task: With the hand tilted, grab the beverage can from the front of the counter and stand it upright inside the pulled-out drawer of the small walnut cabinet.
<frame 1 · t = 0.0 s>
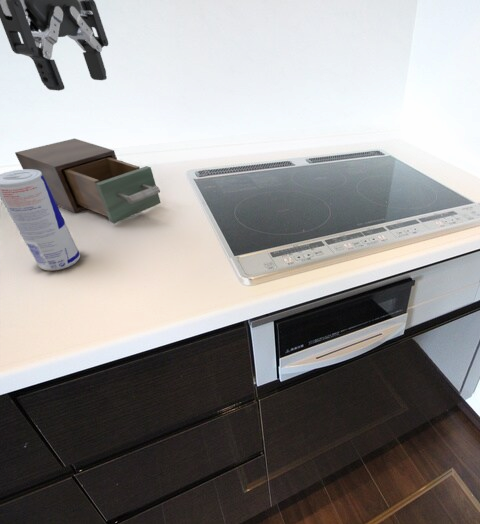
hand: (79, 84, 53), 25 cm above the worktop, tool pointing down, fingers open, 8 cm apart
beverage can: (61, 263, 59), on the worktop
cabinet: (83, 194, 79), on the worktop
drawer: (118, 189, 71), point 5 cm above the worktop, slide at 10.5 cm
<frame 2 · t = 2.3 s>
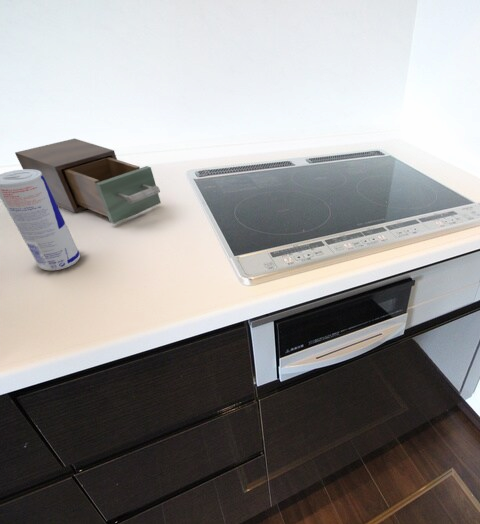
nothing on the worktop moved.
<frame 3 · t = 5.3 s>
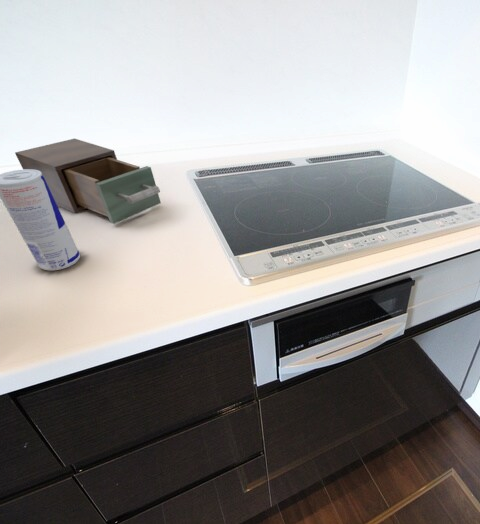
nothing on the worktop moved.
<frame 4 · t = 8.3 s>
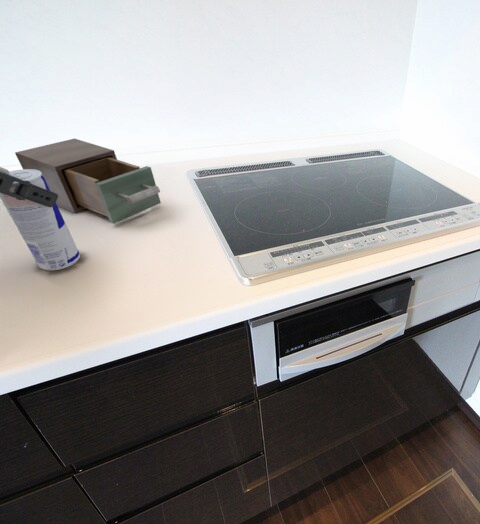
hand: (42, 195, 54), 11 cm above the worktop, tool tilted 45°, fingers closed on beverage can, 5 cm apart
beverage can: (61, 263, 59), on the worktop, touching gripper
everything else where it was.
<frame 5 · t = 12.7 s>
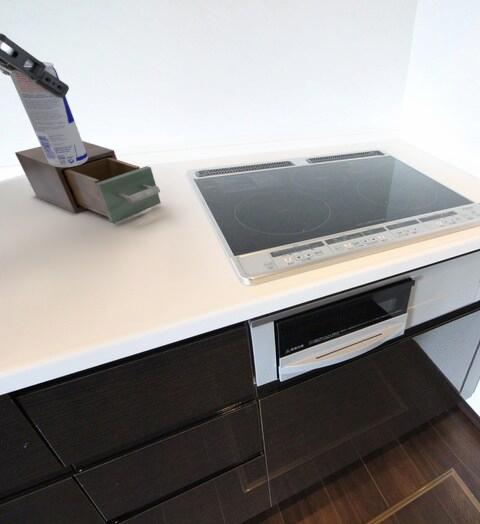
hand: (53, 89, 56), 24 cm above the worktop, tool tilted 45°, fingers closed on beverage can, 5 cm apart
beverage can: (70, 163, 62), point 12 cm above the worktop, touching gripper
everything else where it was.
when the fingers open (13 cm above the worktop, at t = 17.3 s): beverage can stays where it is, resting on drawer.
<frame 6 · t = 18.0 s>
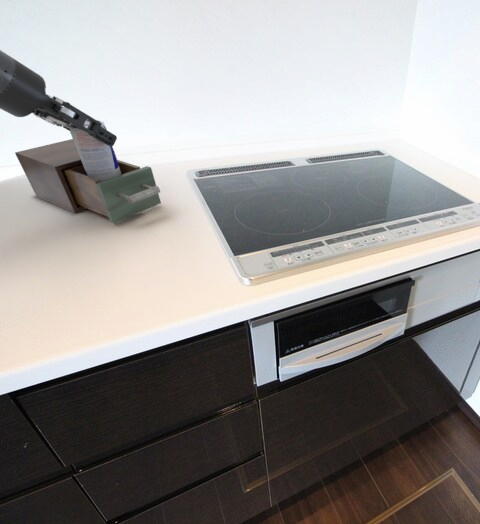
hand: (99, 137, 68), 14 cm above the worktop, tool tilted 45°, fingers open, 8 cm apart
beverage can: (114, 200, 74), point 2 cm above the worktop, touching drawer
drawer: (119, 189, 71), point 5 cm above the worktop, slide at 10.6 cm, touching beverage can
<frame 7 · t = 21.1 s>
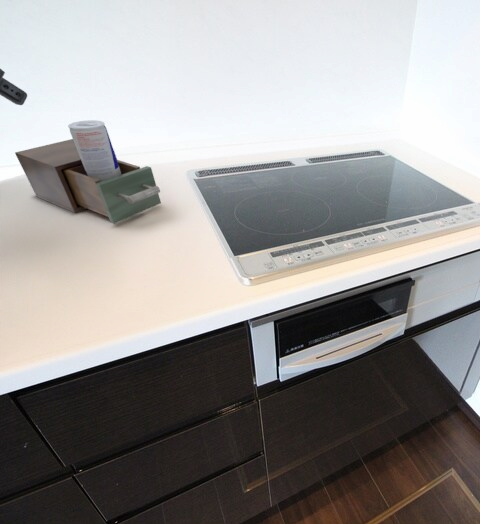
hand: (5, 97, 56), 22 cm above the worktop, tool tilted 45°, fingers open, 8 cm apart
nothing on the worktop moved.
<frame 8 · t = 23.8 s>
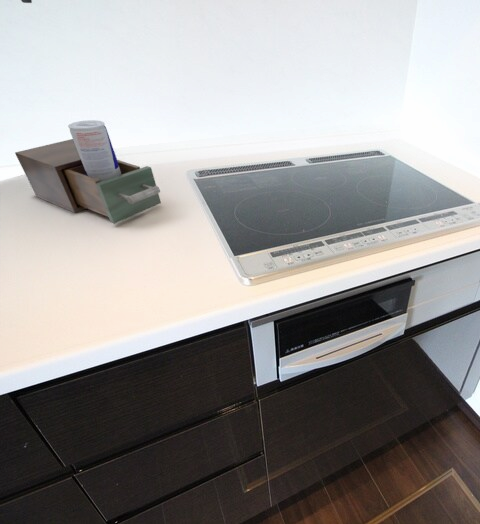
nothing on the worktop moved.
at the end: beverage can inside the target area in the drawer (0.4 cm from its centre), point 1.8 cm above the cabinet's base; beverage can tilted 0°; the gripper is holding nothing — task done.
